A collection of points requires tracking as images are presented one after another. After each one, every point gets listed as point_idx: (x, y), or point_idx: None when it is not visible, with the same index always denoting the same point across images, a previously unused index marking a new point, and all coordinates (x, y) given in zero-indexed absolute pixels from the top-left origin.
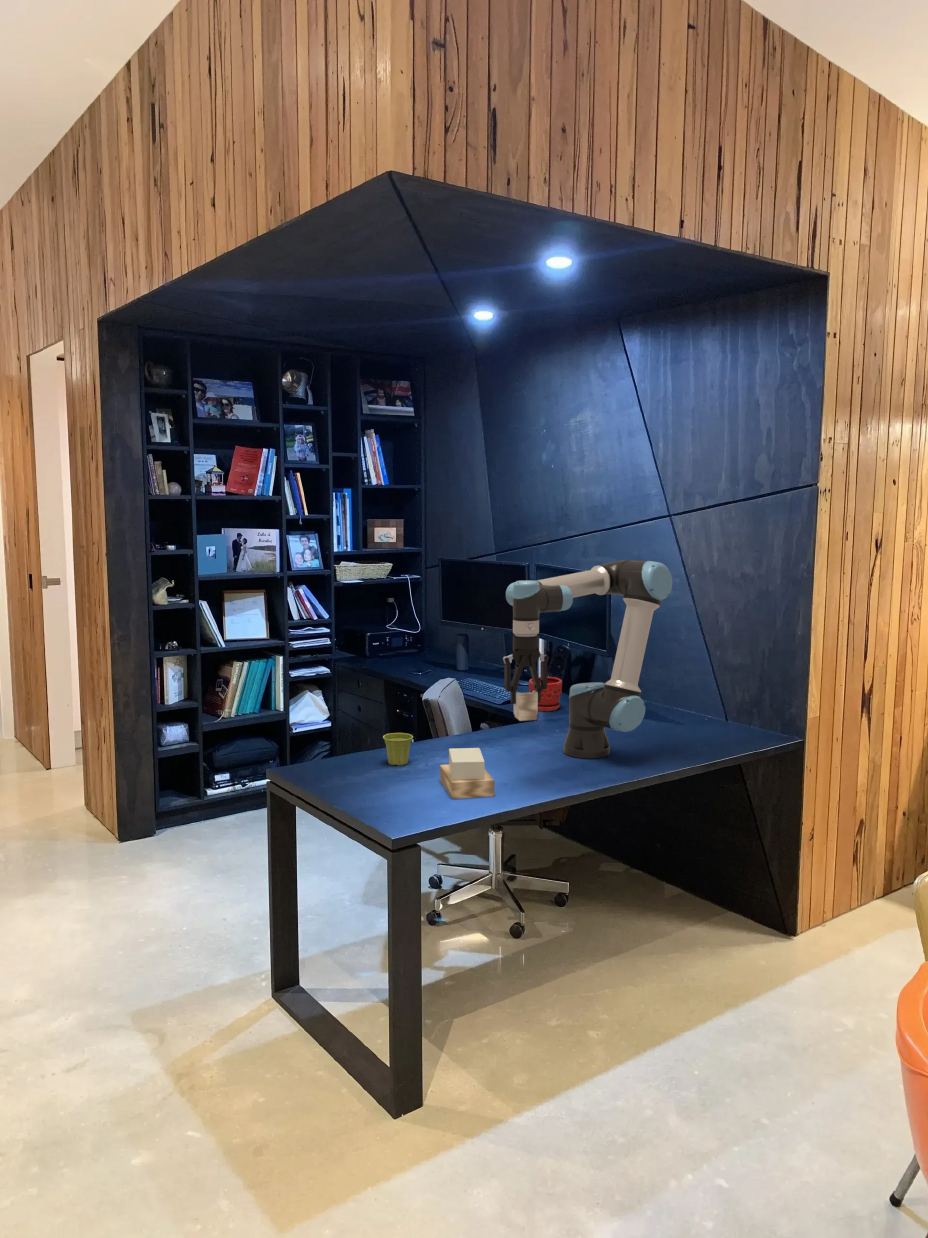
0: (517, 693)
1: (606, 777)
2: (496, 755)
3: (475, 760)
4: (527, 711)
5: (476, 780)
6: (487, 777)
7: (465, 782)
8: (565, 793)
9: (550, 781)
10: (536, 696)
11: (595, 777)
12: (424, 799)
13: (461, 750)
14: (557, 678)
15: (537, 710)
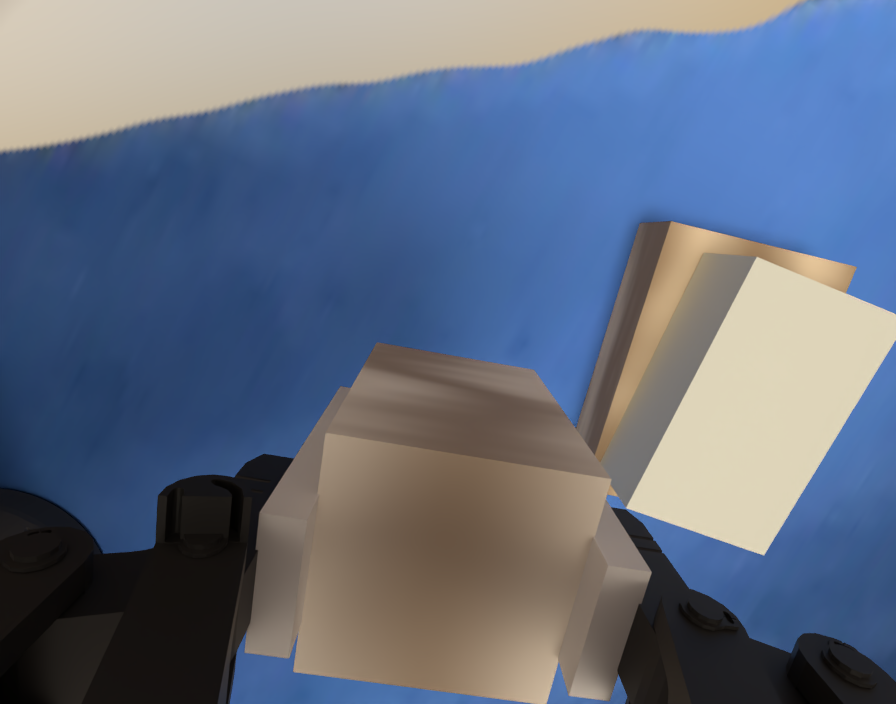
0: (634, 570)
1: (77, 241)
2: None
3: (784, 301)
4: (470, 383)
5: (744, 253)
6: (675, 273)
7: (798, 253)
8: (354, 117)
9: (333, 297)
10: (332, 427)
11: (124, 263)
12: (891, 305)
13: (732, 501)
14: None
15: (333, 400)
